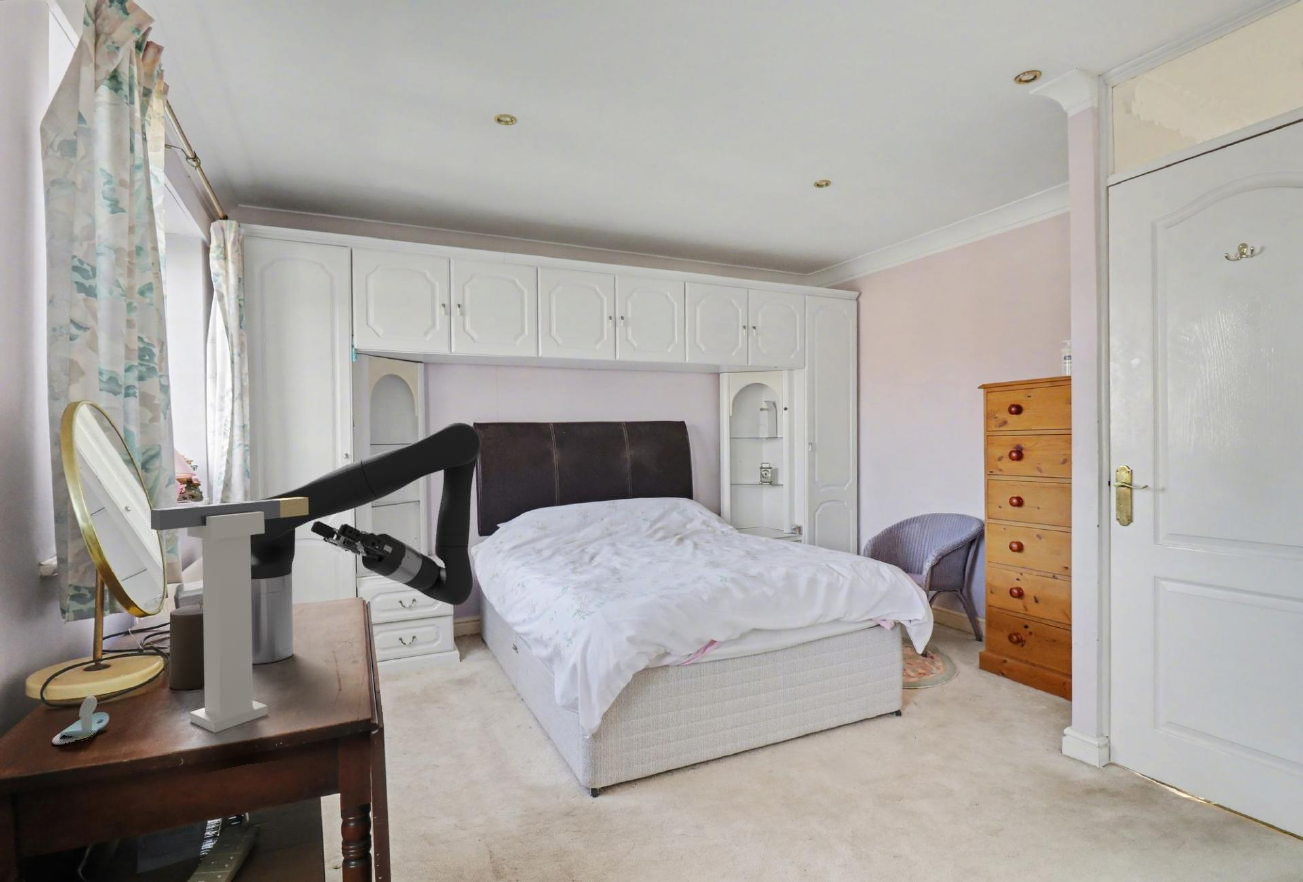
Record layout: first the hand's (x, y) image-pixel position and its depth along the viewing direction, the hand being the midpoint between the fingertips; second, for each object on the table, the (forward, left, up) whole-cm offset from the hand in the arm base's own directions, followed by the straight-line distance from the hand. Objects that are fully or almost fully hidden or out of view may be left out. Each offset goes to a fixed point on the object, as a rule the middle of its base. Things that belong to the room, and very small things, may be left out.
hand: (327, 526), depth 125 cm
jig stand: (0, -17, -29) cm, 34 cm away
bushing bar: (0, -16, +3) cm, 16 cm away
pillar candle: (-23, -11, -29) cm, 39 cm away
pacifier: (-13, -33, -30) cm, 46 cm away
